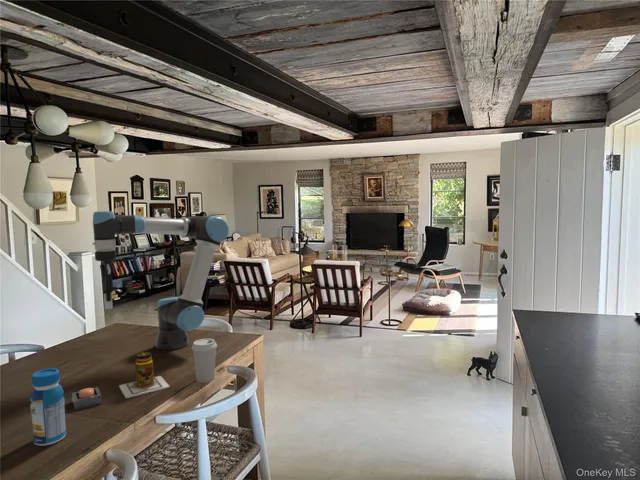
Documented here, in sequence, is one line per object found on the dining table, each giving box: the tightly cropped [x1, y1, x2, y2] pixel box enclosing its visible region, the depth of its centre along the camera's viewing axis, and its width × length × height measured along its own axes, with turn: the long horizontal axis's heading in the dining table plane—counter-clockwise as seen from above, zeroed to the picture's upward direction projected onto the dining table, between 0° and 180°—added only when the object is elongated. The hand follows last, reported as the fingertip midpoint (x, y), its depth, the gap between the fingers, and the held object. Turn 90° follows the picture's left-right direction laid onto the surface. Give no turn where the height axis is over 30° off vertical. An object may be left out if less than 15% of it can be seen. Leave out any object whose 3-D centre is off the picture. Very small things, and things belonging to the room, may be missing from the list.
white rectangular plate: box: [118, 375, 170, 399], centre depth 161 cm, size 15×12×1 cm
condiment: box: [128, 351, 159, 390], centre depth 161 cm, size 7×8×12 cm
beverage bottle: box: [29, 367, 67, 447], centre depth 125 cm, size 8×8×20 cm
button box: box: [71, 386, 103, 411], centre depth 149 cm, size 8×8×3 cm
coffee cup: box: [191, 338, 218, 384], centre depth 167 cm, size 10×10×15 cm
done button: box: [79, 387, 94, 399], centre depth 149 cm, size 5×5×3 cm
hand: (108, 308), depth 174 cm, fingers closed
